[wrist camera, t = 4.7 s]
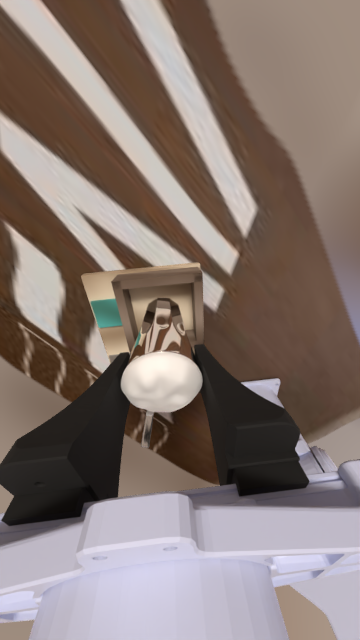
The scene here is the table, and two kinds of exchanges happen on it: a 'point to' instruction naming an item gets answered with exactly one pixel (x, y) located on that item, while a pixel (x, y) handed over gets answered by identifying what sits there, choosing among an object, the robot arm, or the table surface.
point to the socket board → (143, 301)
